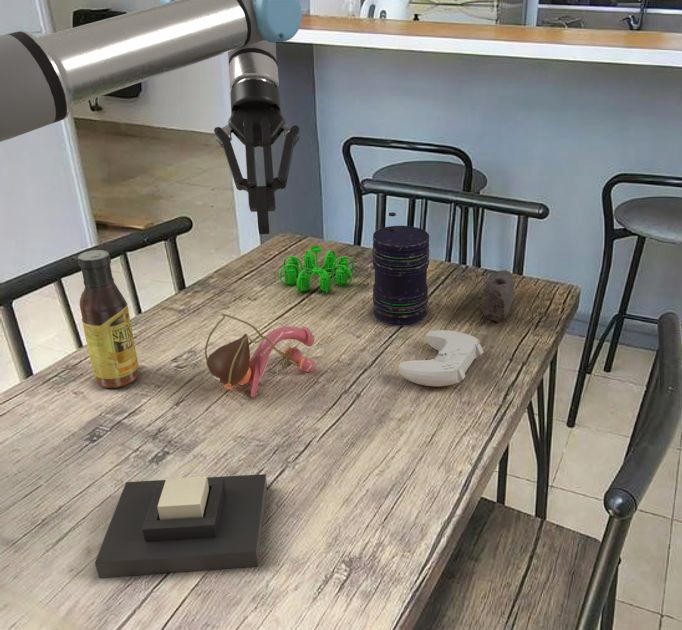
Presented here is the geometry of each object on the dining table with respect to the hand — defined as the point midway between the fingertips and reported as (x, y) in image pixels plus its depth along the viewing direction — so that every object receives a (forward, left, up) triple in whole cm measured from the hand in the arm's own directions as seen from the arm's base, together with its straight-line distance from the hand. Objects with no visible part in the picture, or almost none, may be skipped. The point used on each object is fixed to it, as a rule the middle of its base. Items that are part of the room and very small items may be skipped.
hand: (263, 230), depth 100 cm
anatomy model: (-1, -8, -21) cm, 23 cm away
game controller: (+26, -7, -21) cm, 35 cm away
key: (-7, -38, -17) cm, 42 cm away
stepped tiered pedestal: (-7, -38, -21) cm, 44 cm away
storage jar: (+21, +12, -21) cm, 33 cm away
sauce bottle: (-23, -6, -21) cm, 32 cm away
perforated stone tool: (+40, +13, -21) cm, 47 cm away
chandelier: (+6, +27, -21) cm, 35 cm away
